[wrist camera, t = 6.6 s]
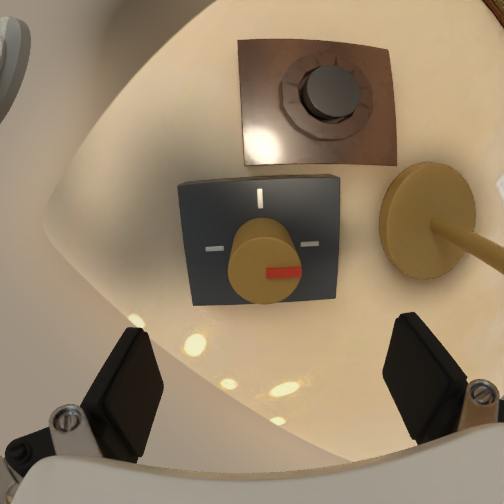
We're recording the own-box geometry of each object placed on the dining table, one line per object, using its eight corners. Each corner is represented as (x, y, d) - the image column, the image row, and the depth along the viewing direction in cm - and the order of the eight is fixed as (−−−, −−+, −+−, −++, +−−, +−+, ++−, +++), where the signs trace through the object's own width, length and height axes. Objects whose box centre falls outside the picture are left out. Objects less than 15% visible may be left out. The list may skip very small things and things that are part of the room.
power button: (303, 119, 18) (308, 116, 16) (300, 70, 17) (304, 63, 15) (353, 121, 18) (362, 118, 16) (350, 73, 16) (358, 67, 15)
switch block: (245, 164, 22) (243, 167, 18) (238, 49, 19) (236, 31, 15) (385, 164, 22) (408, 167, 18) (378, 56, 19) (398, 43, 15)
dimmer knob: (235, 274, 23) (230, 308, 18) (231, 218, 21) (224, 240, 16) (291, 271, 23) (301, 305, 18) (291, 215, 21) (302, 236, 16)
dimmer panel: (197, 292, 26) (192, 306, 24) (184, 181, 23) (176, 185, 20) (328, 285, 26) (336, 299, 23) (331, 174, 22) (341, 177, 20)
